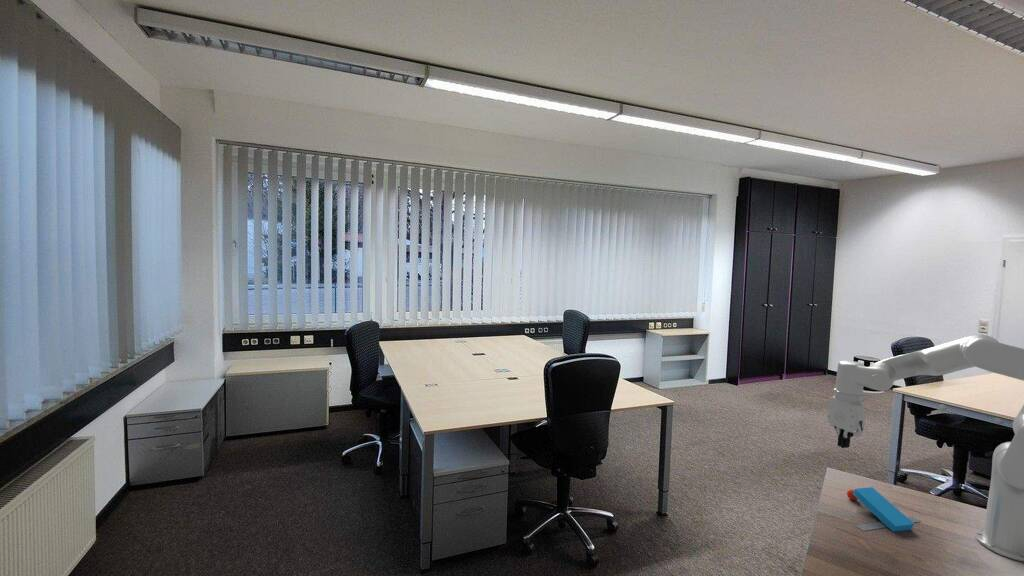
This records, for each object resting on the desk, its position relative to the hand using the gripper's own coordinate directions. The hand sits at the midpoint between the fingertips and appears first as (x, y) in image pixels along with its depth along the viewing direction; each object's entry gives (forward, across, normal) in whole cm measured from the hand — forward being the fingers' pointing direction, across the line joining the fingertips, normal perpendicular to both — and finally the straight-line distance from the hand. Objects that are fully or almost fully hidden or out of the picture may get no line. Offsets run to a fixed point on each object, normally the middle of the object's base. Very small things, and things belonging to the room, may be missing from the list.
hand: (843, 446), depth 152 cm
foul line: (+17, +18, -1) cm, 24 cm away
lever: (+17, +12, 0) cm, 21 cm away
